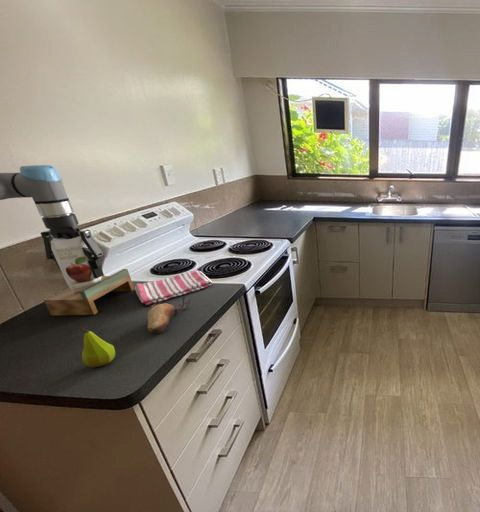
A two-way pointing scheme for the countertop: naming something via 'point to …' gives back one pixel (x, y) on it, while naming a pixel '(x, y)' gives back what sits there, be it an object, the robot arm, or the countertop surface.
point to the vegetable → (161, 316)
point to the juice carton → (73, 263)
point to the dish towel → (171, 287)
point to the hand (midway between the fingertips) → (84, 276)
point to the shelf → (88, 295)
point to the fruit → (96, 350)
